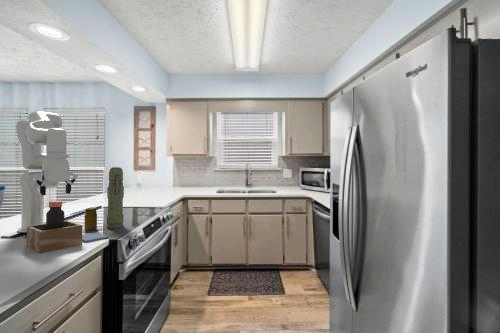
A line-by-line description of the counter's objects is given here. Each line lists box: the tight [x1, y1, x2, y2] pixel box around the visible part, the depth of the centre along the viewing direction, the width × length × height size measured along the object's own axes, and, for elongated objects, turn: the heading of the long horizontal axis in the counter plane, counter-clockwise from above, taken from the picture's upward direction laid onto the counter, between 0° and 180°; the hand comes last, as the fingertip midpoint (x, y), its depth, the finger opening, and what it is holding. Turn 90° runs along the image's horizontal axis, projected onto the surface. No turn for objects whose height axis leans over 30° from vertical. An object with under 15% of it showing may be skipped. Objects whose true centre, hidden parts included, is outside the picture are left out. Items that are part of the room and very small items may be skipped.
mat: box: [82, 231, 109, 243], centre depth 139 cm, size 12×10×1 cm
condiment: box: [82, 207, 103, 233], centre depth 155 cm, size 7×8×12 cm
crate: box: [26, 220, 83, 254], centre depth 126 cm, size 15×16×9 cm
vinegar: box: [45, 200, 65, 230], centre depth 126 cm, size 7×7×20 cm
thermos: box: [106, 166, 125, 230], centre depth 163 cm, size 9×12×35 cm
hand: (56, 194), depth 125 cm, fingers open, 9 cm apart
